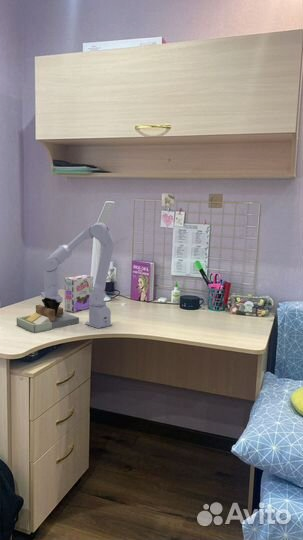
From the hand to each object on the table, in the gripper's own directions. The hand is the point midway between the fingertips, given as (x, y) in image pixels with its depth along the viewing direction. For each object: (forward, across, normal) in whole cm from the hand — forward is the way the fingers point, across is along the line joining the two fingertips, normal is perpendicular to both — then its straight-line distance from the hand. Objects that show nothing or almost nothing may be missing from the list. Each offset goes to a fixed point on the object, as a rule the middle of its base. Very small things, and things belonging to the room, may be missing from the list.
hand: (51, 315), depth 185 cm
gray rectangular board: (+4, 0, -1) cm, 4 cm away
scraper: (0, 0, 0) cm, 1 cm away
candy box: (+4, -14, +24) cm, 27 cm away
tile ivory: (+2, +3, -6) cm, 7 cm away
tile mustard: (+2, -3, -6) cm, 7 cm away
